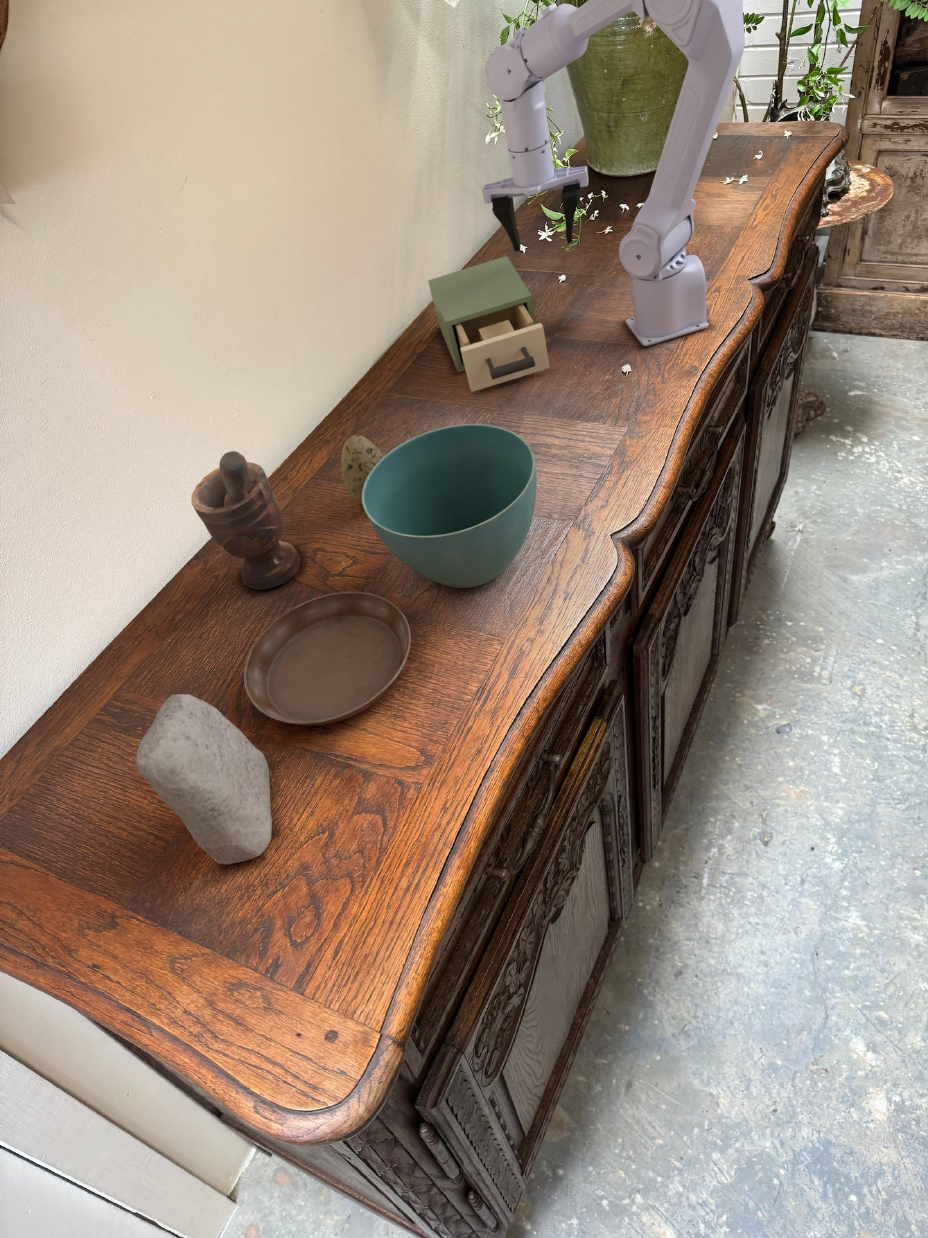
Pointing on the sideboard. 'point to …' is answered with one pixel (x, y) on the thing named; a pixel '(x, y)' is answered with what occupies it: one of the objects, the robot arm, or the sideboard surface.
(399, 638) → the plant saucer
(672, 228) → the robot arm
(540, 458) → the sideboard surface
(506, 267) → the cabinet
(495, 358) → the drawer
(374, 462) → the decorative egg
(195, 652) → the sideboard surface
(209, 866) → the sideboard surface
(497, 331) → the block
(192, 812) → the decorative stone
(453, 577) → the plant pot
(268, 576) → the mortar and pestle
